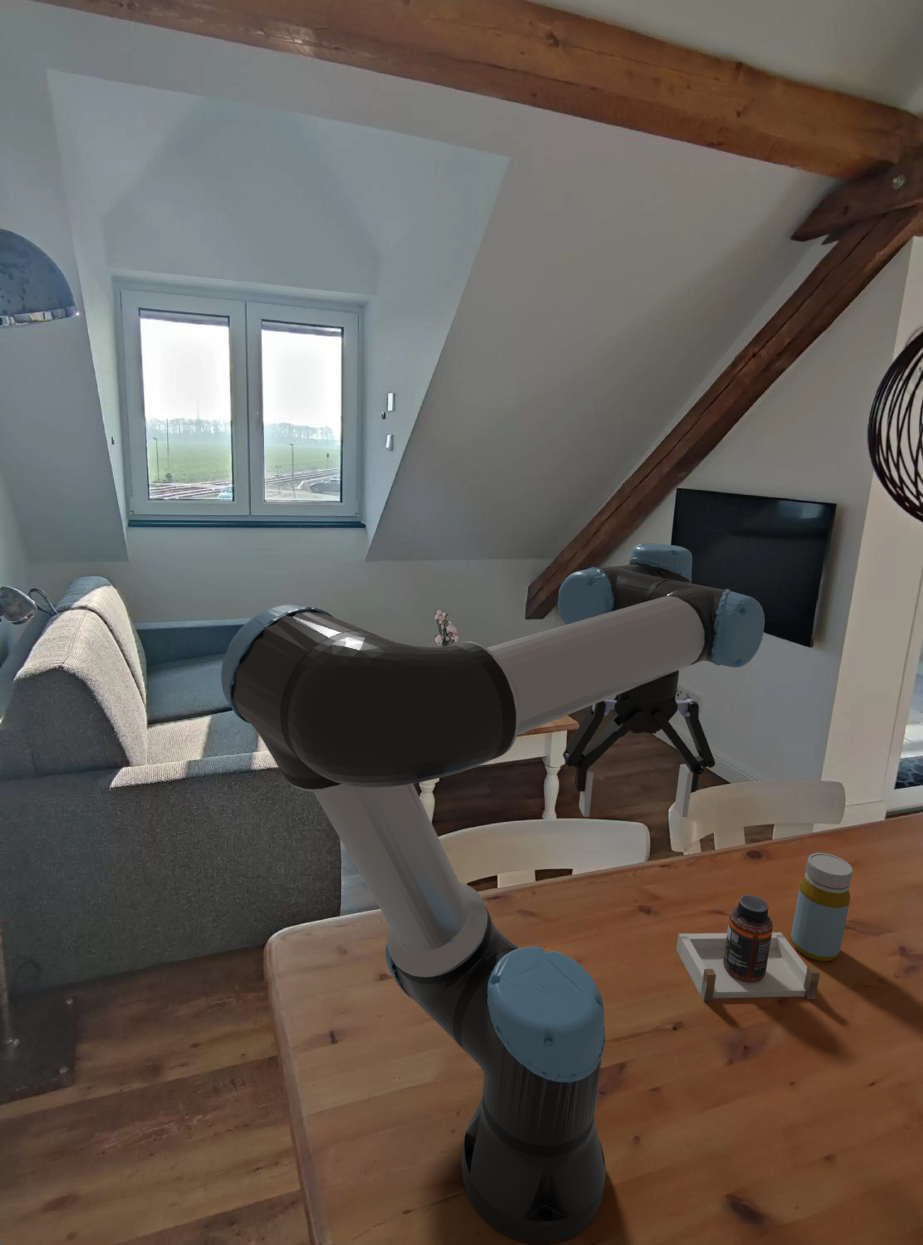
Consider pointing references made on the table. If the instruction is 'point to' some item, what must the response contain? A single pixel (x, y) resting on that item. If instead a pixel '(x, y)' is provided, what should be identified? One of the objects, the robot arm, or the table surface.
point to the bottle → (822, 907)
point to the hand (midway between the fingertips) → (632, 812)
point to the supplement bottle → (748, 939)
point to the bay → (715, 981)
